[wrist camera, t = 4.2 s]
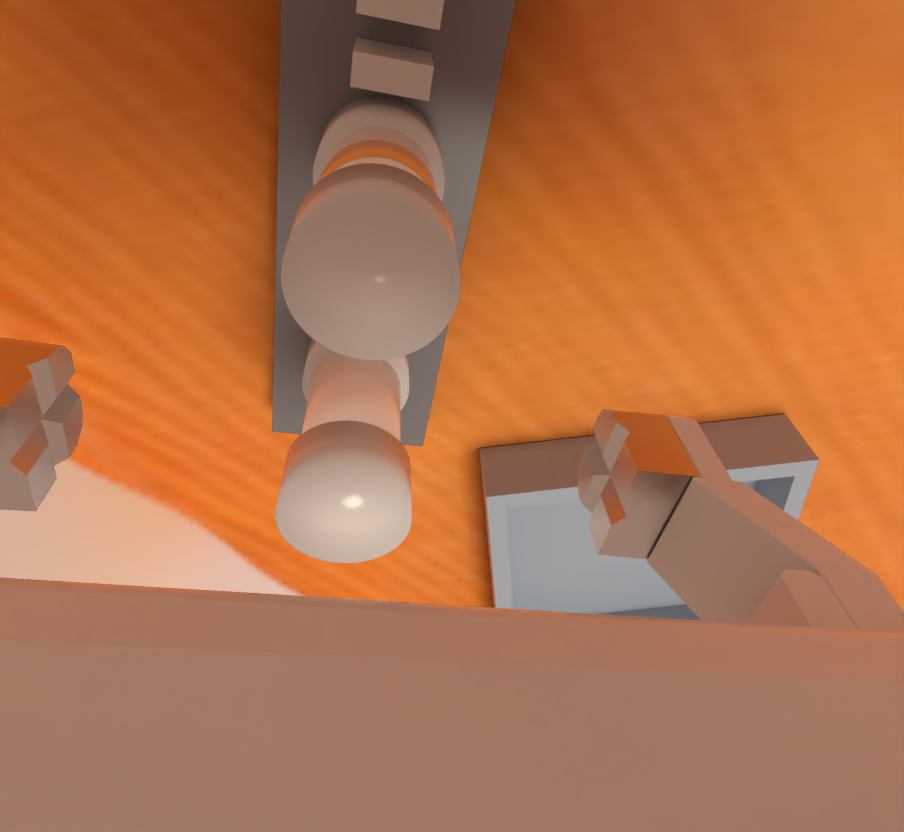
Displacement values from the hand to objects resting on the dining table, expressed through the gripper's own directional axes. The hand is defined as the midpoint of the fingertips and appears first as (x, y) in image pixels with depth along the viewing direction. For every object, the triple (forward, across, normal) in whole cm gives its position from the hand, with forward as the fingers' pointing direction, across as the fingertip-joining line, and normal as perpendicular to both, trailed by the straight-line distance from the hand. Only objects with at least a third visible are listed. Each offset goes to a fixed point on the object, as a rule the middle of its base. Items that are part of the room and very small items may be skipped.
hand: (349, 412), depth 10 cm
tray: (+14, -14, +16) cm, 26 cm away
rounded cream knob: (+12, 0, +6) cm, 14 cm away
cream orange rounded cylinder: (+12, 0, -1) cm, 12 cm away
